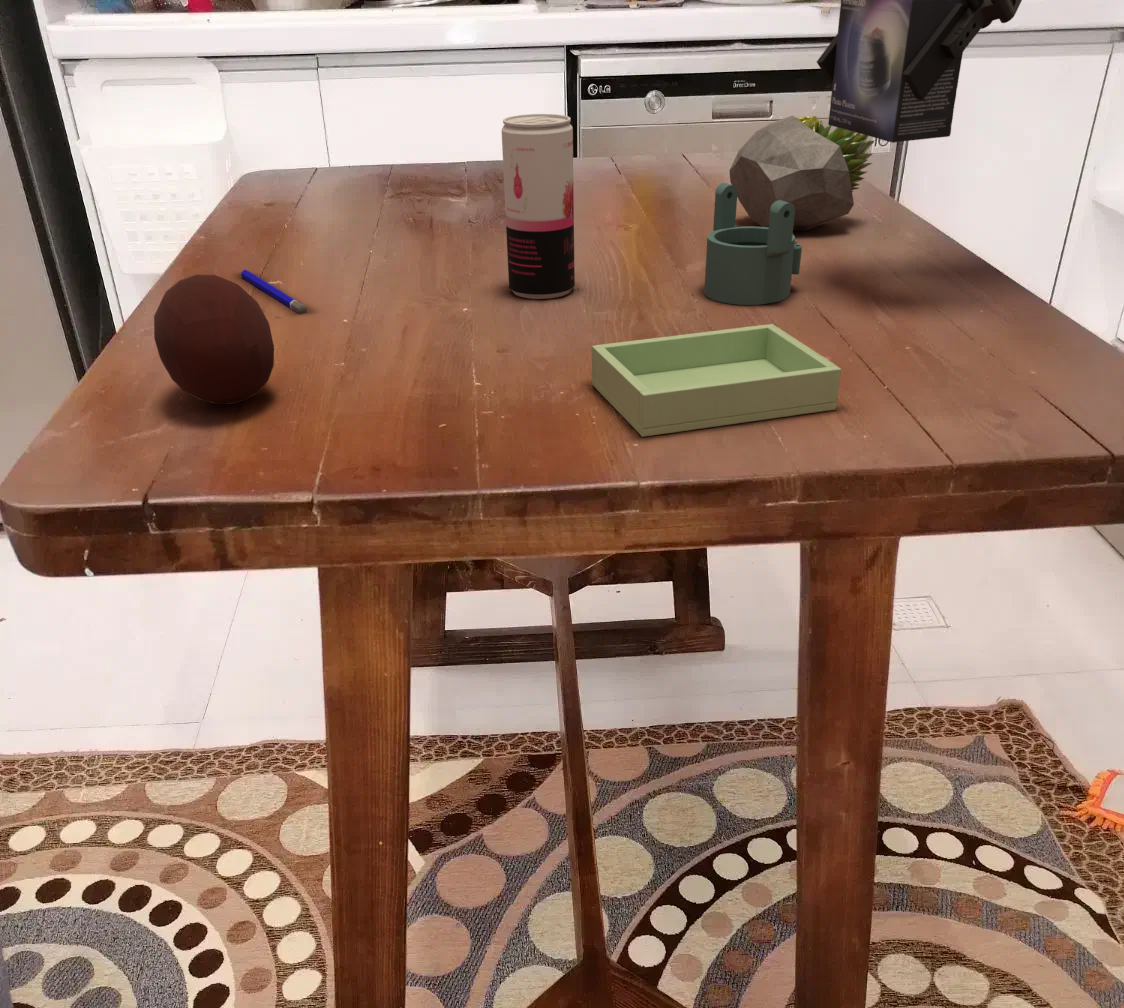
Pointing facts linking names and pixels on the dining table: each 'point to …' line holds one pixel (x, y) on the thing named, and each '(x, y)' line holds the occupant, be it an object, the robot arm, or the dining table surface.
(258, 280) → the pencil
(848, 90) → the small box
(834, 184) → the potted plant
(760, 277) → the bracket
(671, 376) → the tray
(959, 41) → the robot arm
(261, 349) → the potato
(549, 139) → the beverage can
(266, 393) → the dining table surface
